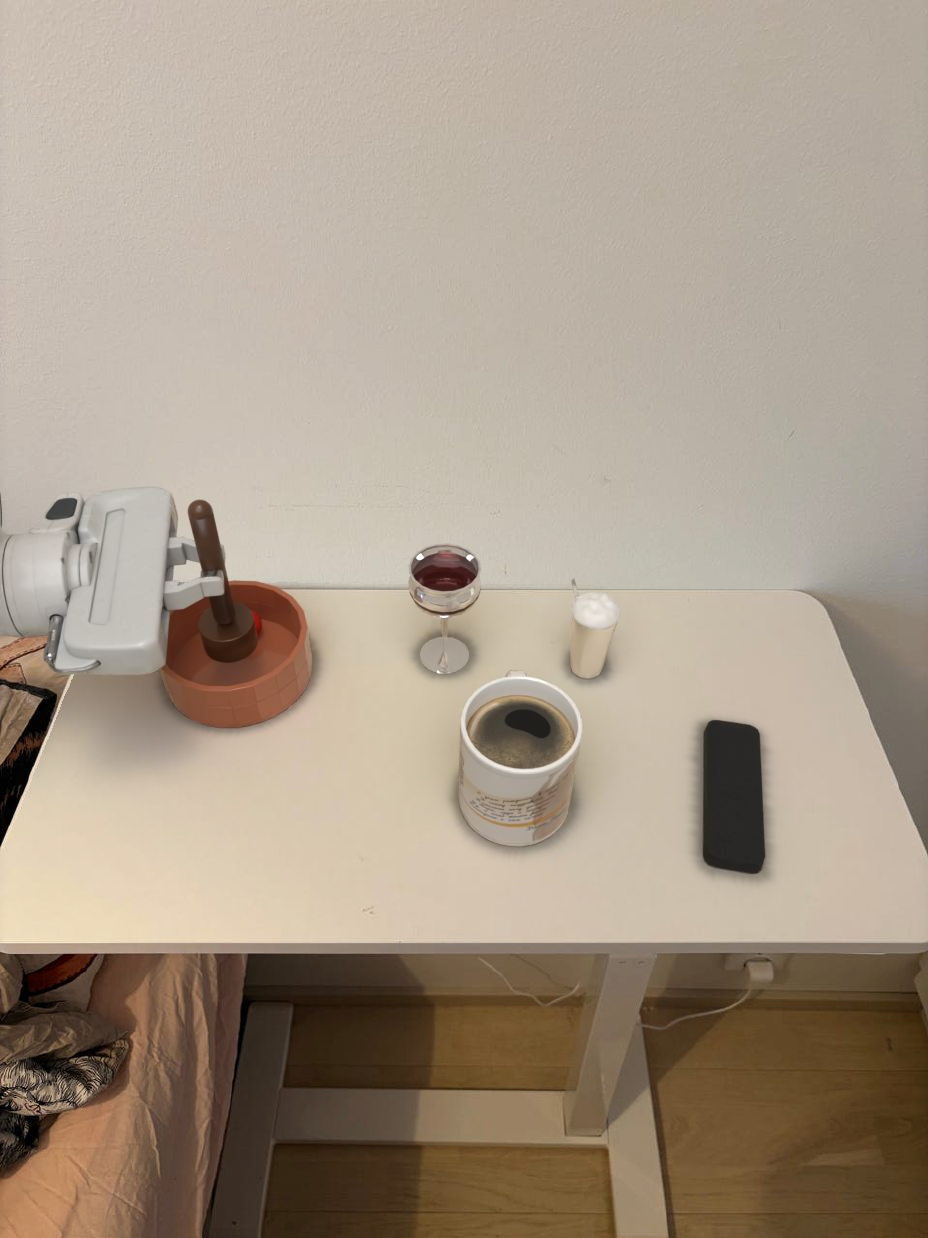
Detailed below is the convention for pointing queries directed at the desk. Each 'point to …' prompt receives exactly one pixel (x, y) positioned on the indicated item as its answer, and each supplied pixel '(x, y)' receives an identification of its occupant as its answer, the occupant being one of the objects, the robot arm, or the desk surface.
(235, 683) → the bowl
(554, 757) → the mug
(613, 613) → the milkshake
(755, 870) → the remote control
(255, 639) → the brown plunger
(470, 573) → the wineglass
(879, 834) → the desk surface
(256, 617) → the tomato
